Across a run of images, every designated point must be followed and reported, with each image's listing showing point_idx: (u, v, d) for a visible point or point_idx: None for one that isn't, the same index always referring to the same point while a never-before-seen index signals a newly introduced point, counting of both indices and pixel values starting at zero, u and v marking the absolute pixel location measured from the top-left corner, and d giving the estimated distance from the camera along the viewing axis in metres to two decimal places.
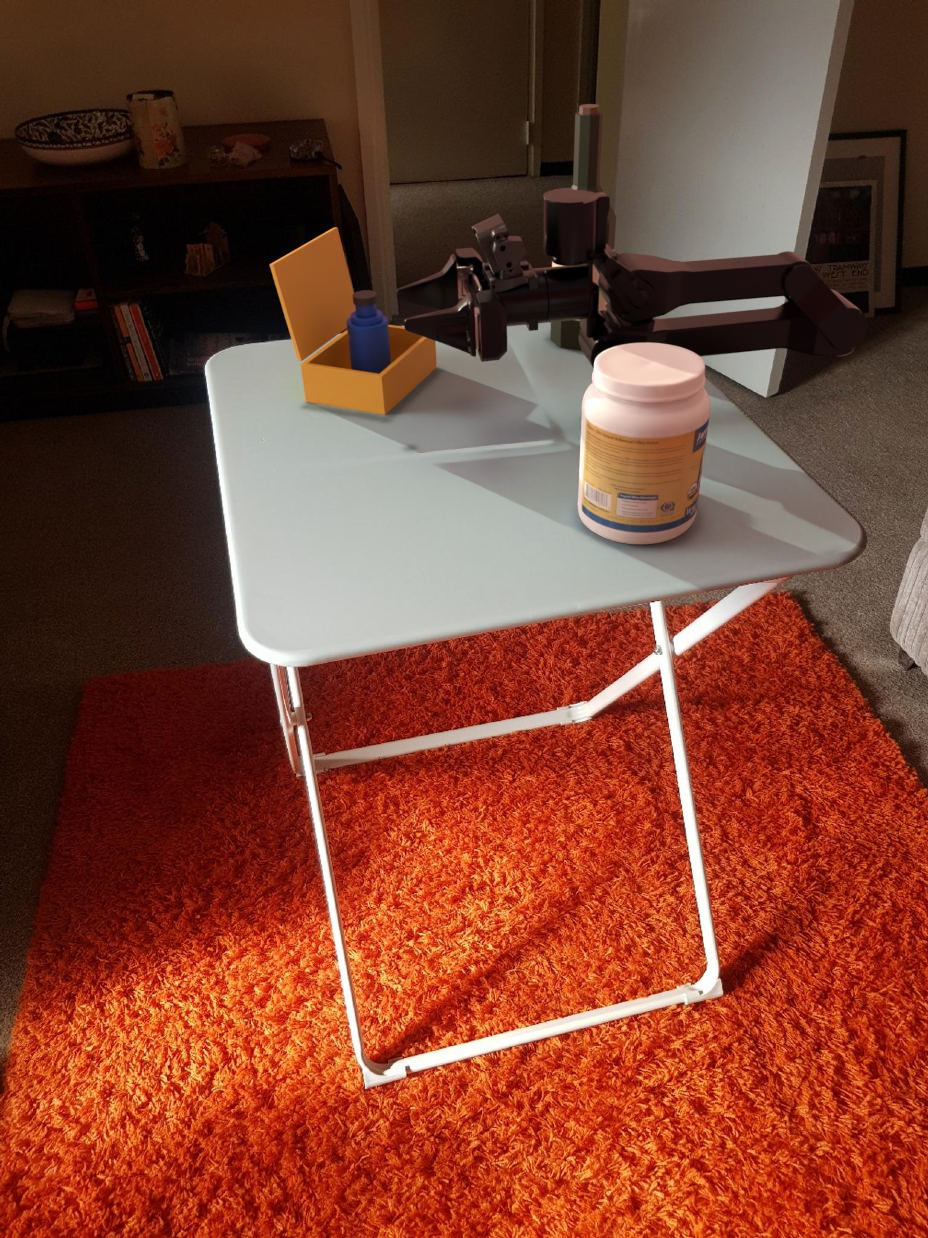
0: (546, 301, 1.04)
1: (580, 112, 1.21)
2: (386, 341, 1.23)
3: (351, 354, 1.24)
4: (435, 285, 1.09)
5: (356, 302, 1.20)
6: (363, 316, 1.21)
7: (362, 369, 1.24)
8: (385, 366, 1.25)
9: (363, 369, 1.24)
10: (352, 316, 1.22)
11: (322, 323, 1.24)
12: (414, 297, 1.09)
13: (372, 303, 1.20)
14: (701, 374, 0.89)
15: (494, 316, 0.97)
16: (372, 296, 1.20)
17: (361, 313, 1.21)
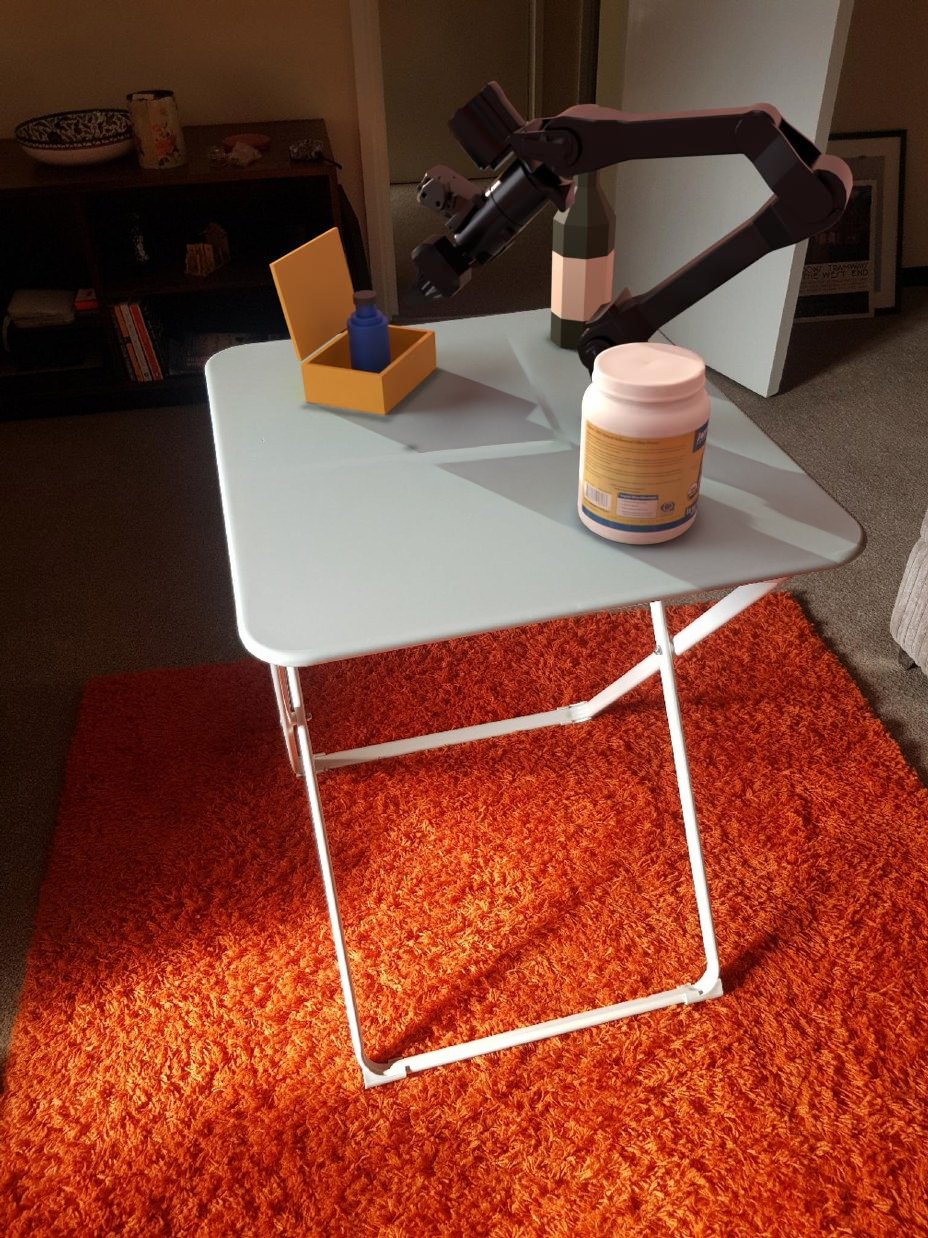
0: (497, 209, 1.05)
1: None
2: (386, 341, 1.23)
3: (351, 354, 1.24)
4: None
5: (356, 302, 1.20)
6: (363, 316, 1.21)
7: (362, 369, 1.24)
8: (385, 366, 1.25)
9: (363, 369, 1.24)
10: (352, 316, 1.22)
11: (322, 323, 1.24)
12: None
13: (372, 303, 1.20)
14: (701, 374, 0.89)
15: (425, 256, 1.04)
16: (372, 296, 1.20)
17: (361, 313, 1.21)
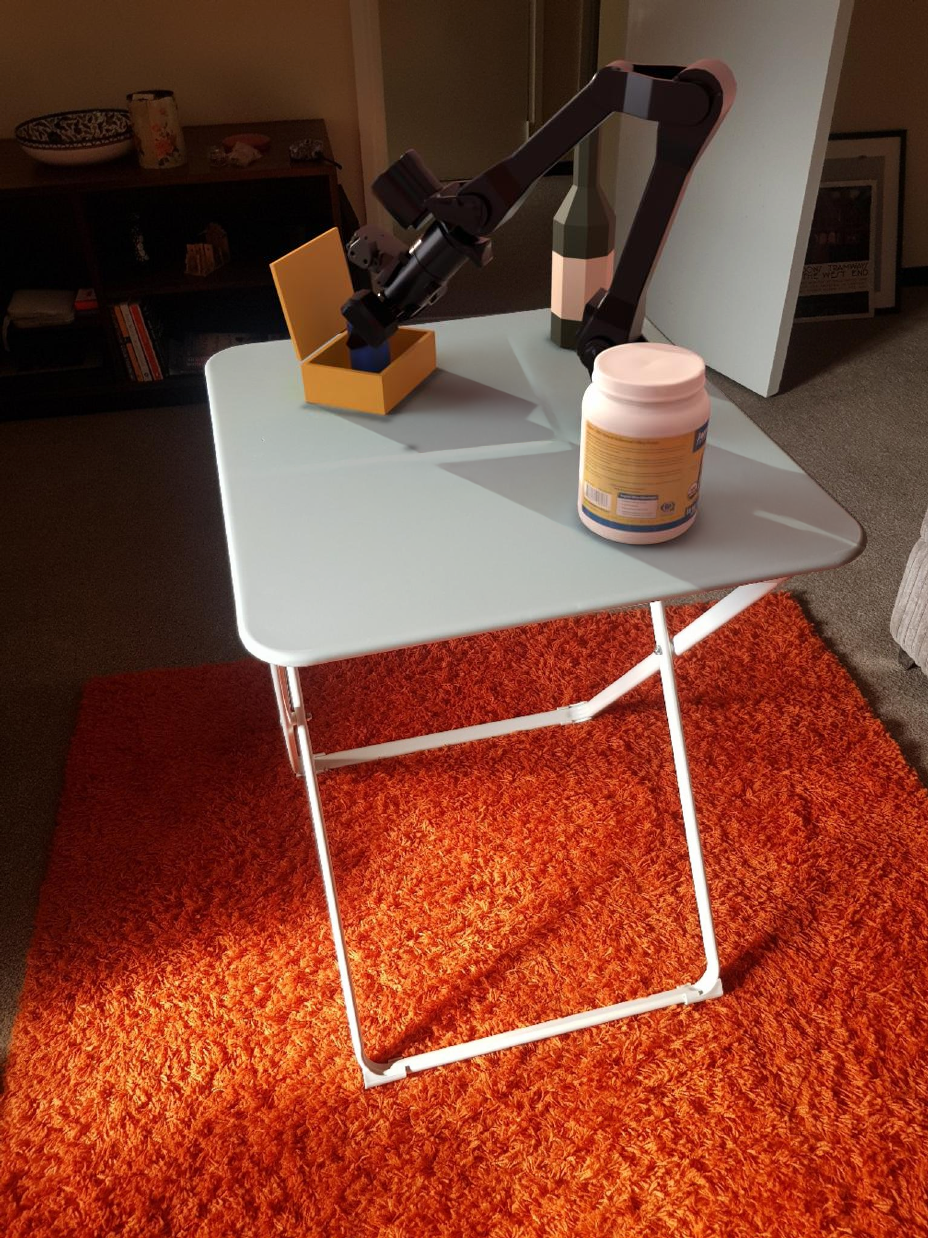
0: (419, 265, 1.12)
1: None
2: (386, 341, 1.23)
3: (351, 354, 1.24)
4: None
5: None
6: None
7: (362, 369, 1.24)
8: (385, 366, 1.25)
9: (363, 369, 1.24)
10: None
11: (322, 323, 1.24)
12: None
13: None
14: (701, 374, 0.89)
15: (352, 311, 1.12)
16: None
17: None
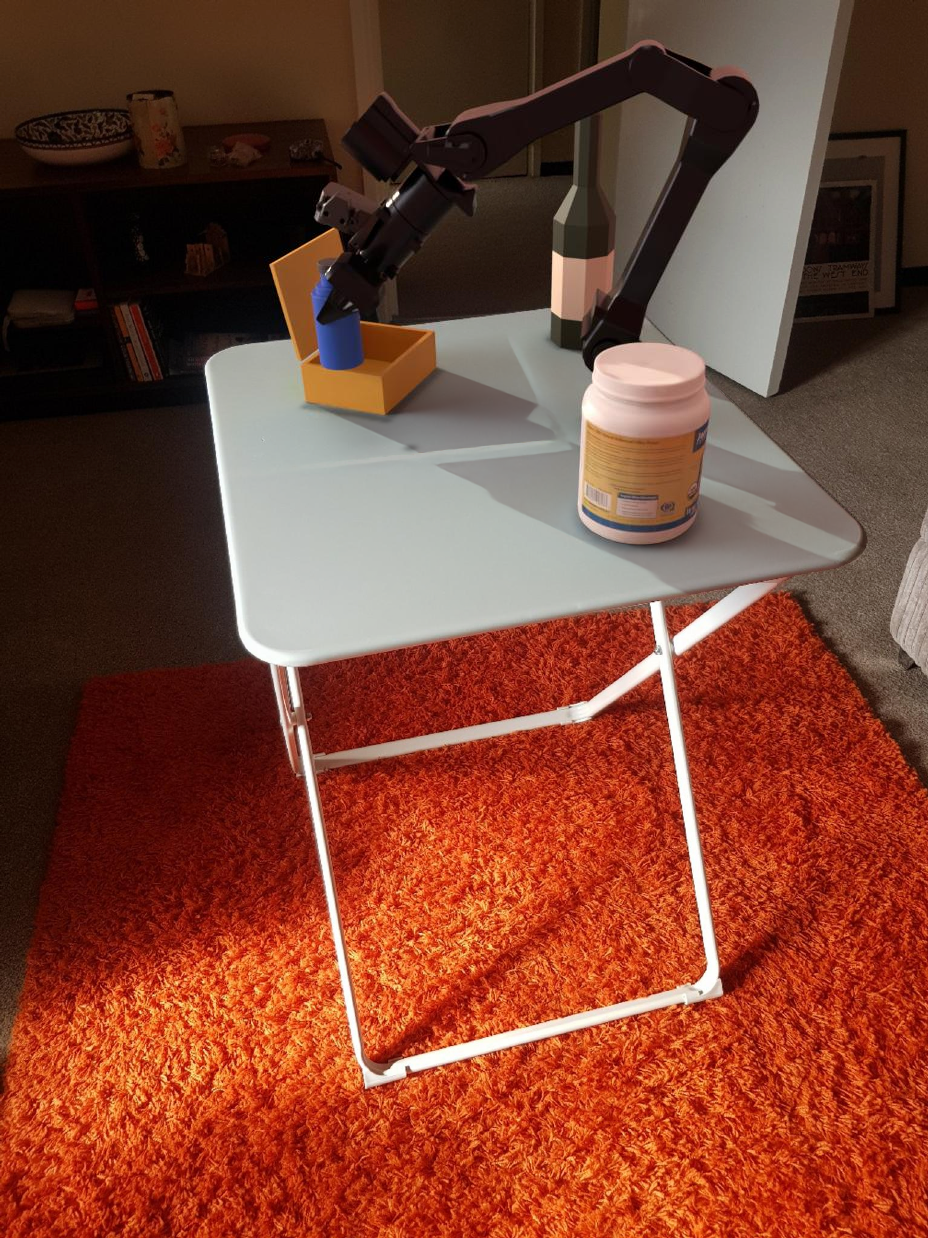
0: (403, 220, 1.03)
1: None
2: None
3: (320, 330, 1.13)
4: None
5: (324, 271, 1.09)
6: (332, 286, 1.10)
7: (335, 345, 1.13)
8: (358, 340, 1.14)
9: (336, 345, 1.13)
10: (319, 287, 1.10)
11: None
12: None
13: None
14: (701, 374, 0.89)
15: (340, 276, 1.01)
16: None
17: None
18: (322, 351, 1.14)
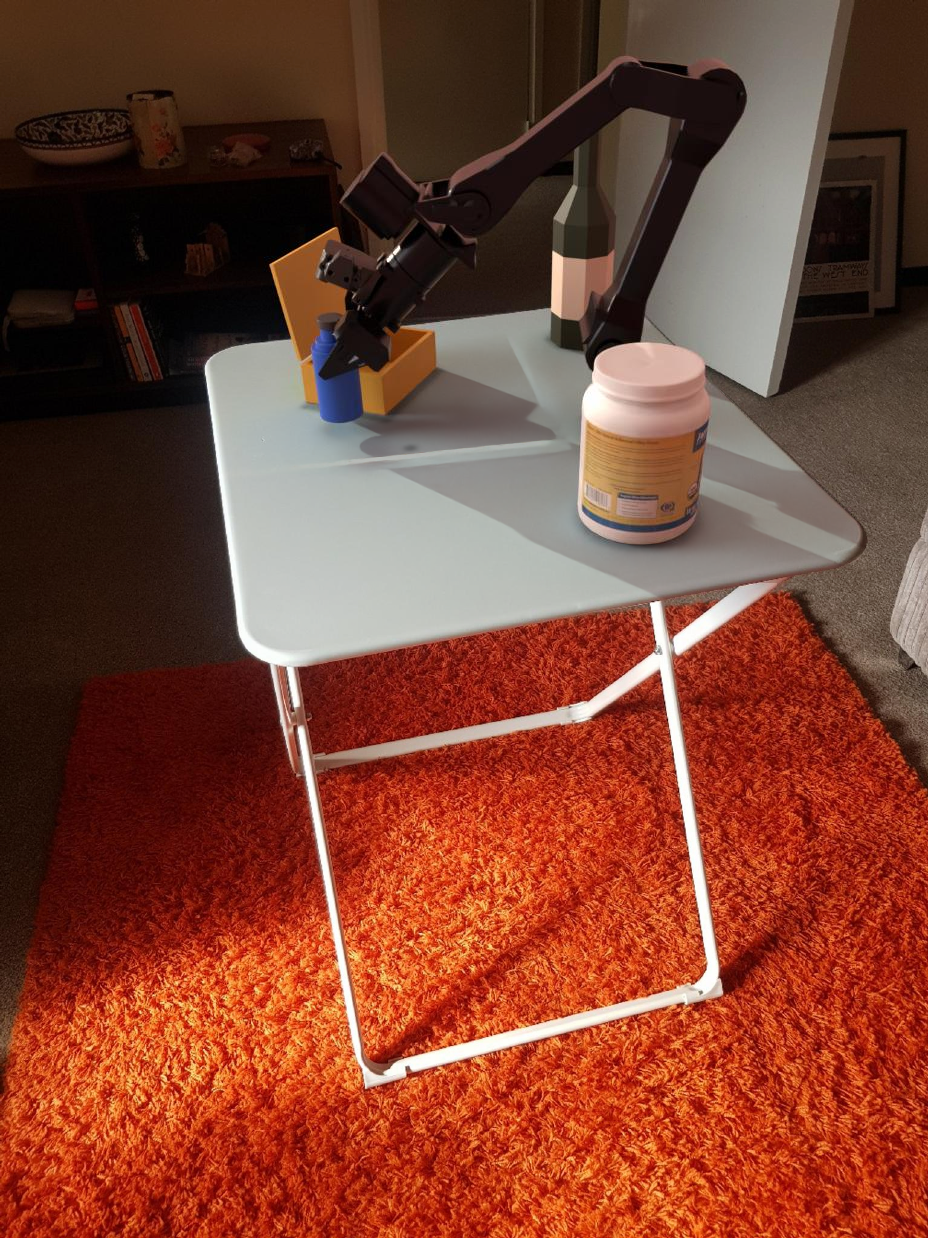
0: (407, 276, 1.04)
1: None
2: None
3: (321, 385, 1.13)
4: None
5: (325, 327, 1.09)
6: (333, 341, 1.10)
7: (337, 399, 1.13)
8: (359, 392, 1.14)
9: (338, 399, 1.13)
10: (319, 343, 1.10)
11: None
12: None
13: None
14: (701, 374, 0.89)
15: (350, 335, 1.01)
16: (340, 318, 1.10)
17: (330, 338, 1.10)
18: (323, 405, 1.14)
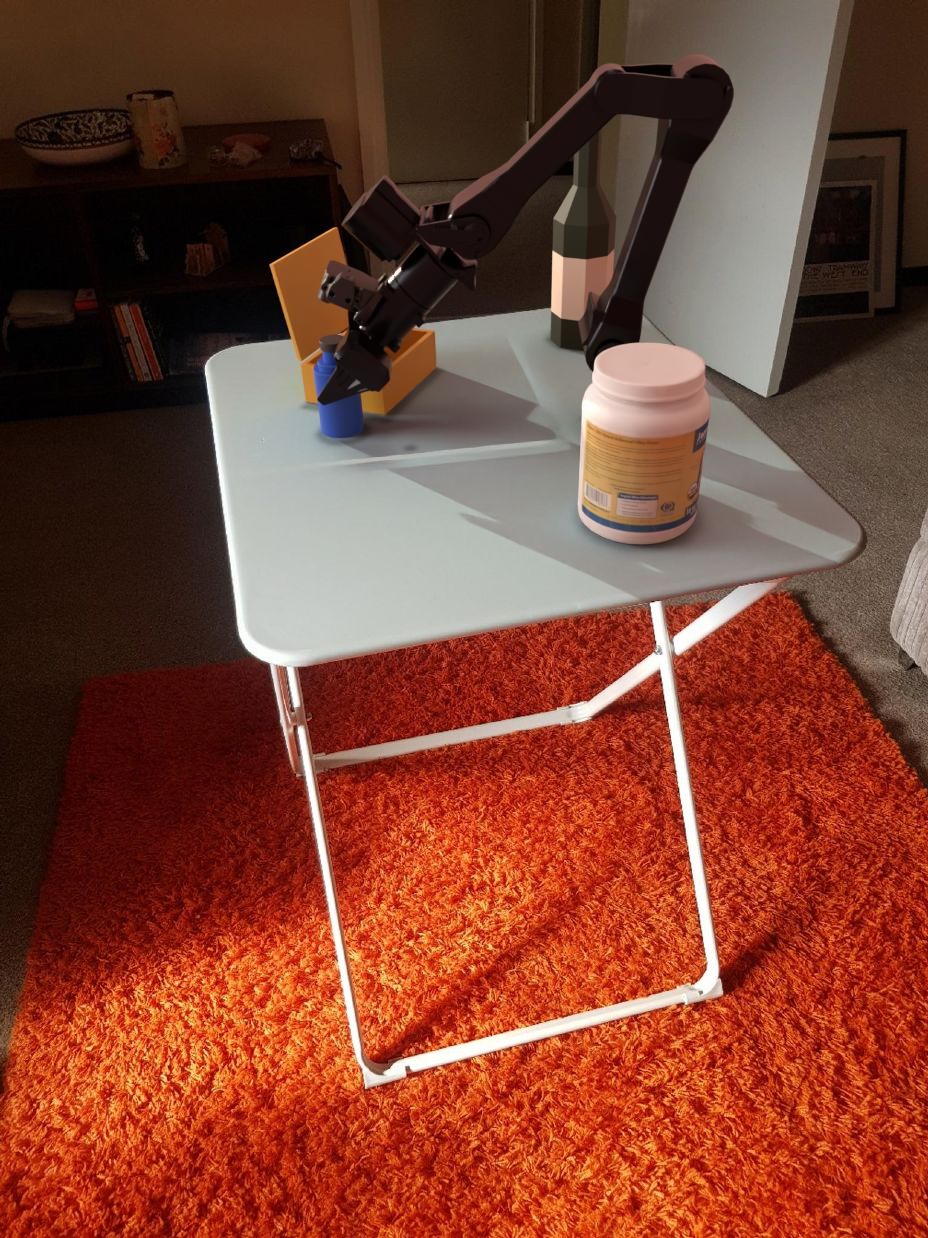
0: (407, 297, 1.05)
1: None
2: None
3: (323, 405, 1.14)
4: None
5: (327, 349, 1.11)
6: (335, 363, 1.12)
7: (339, 419, 1.15)
8: (360, 412, 1.16)
9: (340, 419, 1.15)
10: (322, 364, 1.12)
11: (322, 323, 1.24)
12: None
13: None
14: (701, 374, 0.89)
15: (352, 355, 1.03)
16: None
17: (332, 360, 1.12)
18: (325, 425, 1.16)
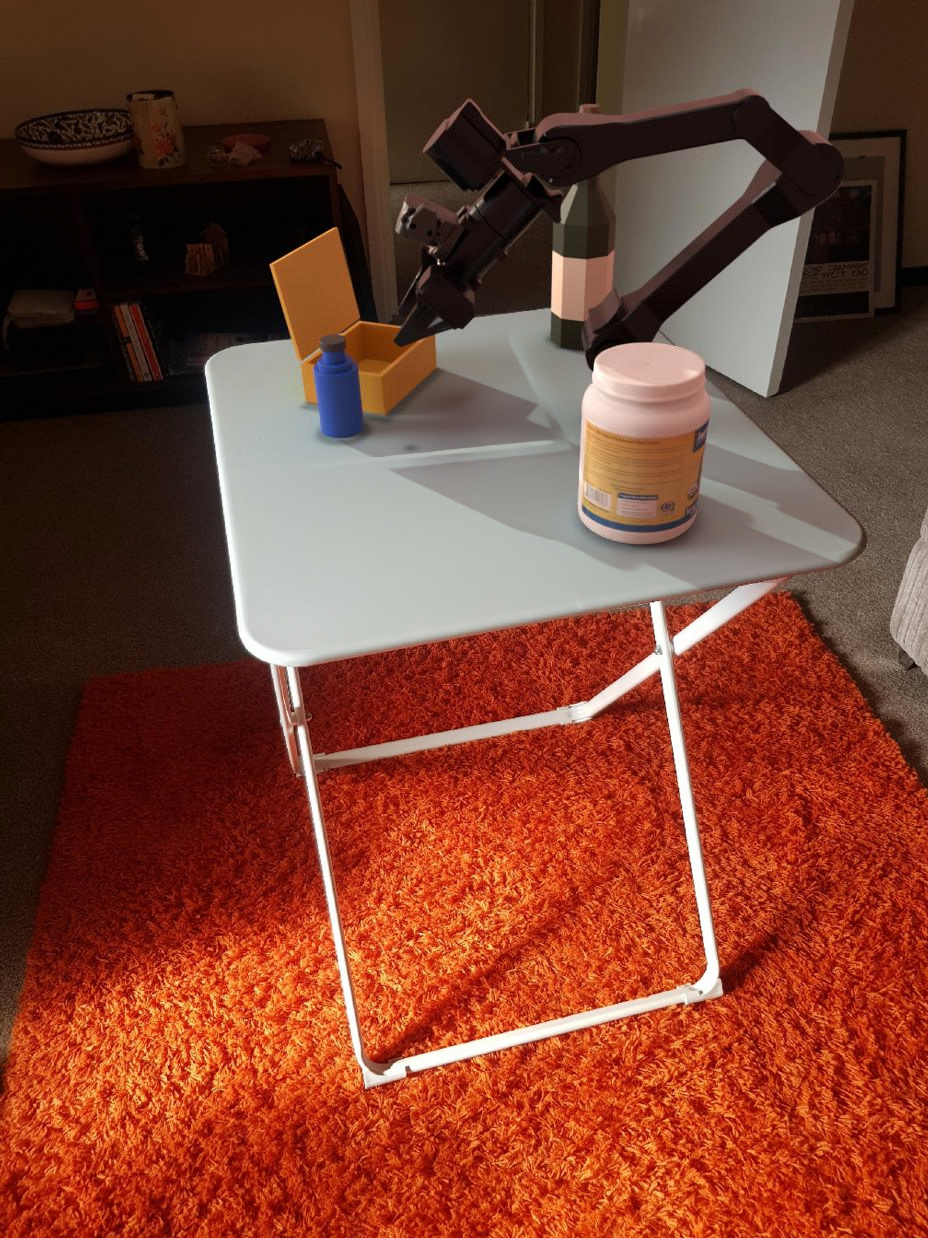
0: (491, 229, 1.01)
1: (580, 112, 1.21)
2: (359, 385, 1.15)
3: (323, 405, 1.14)
4: None
5: (327, 349, 1.11)
6: (335, 363, 1.12)
7: (339, 419, 1.15)
8: (360, 412, 1.16)
9: (340, 419, 1.15)
10: (322, 364, 1.12)
11: (322, 323, 1.24)
12: (415, 303, 1.13)
13: (344, 347, 1.11)
14: (701, 374, 0.89)
15: (436, 290, 0.98)
16: (343, 340, 1.11)
17: (332, 360, 1.12)
18: (325, 425, 1.16)
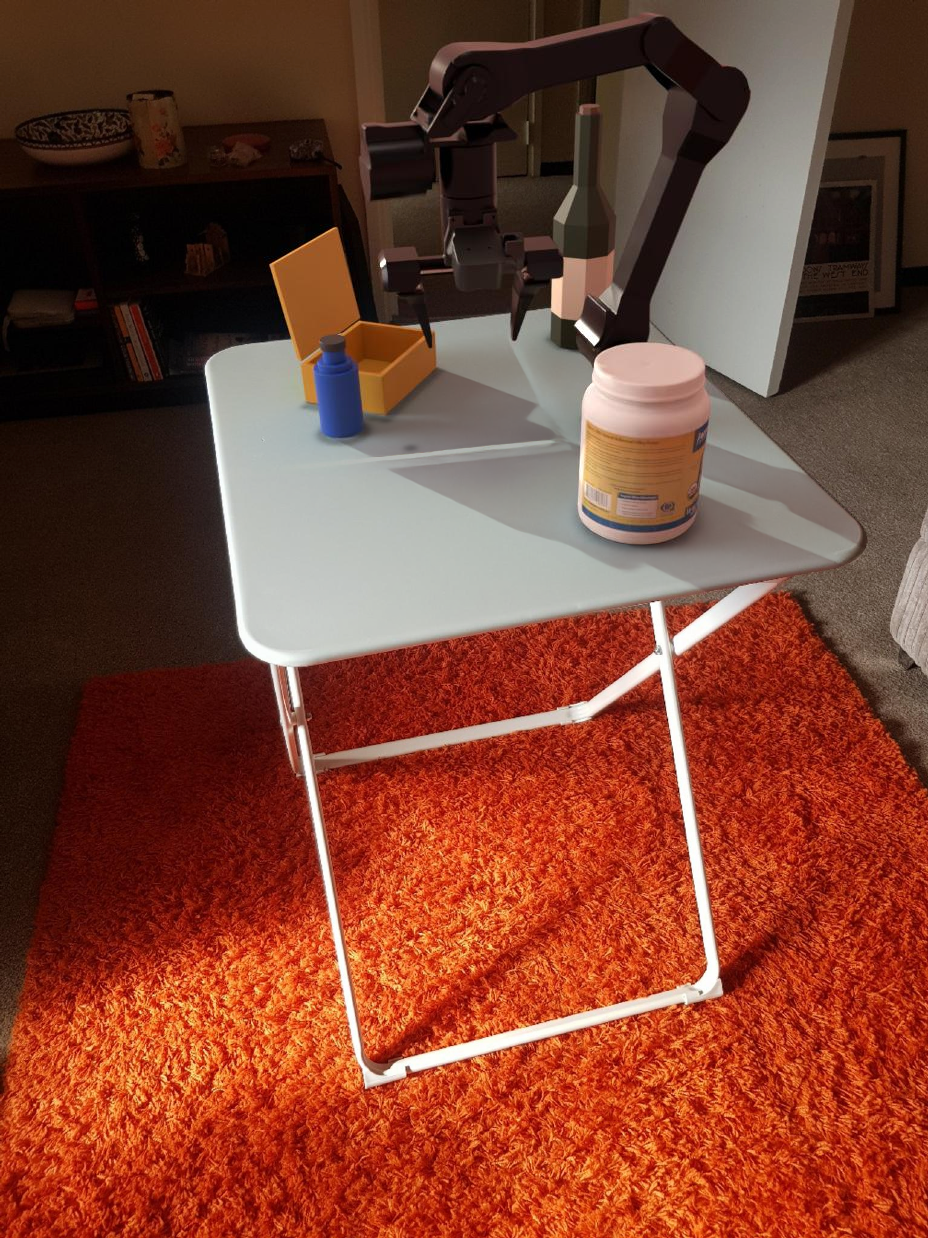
0: (496, 192, 0.97)
1: (580, 112, 1.21)
2: (359, 385, 1.15)
3: (323, 405, 1.14)
4: None
5: (327, 349, 1.11)
6: (335, 363, 1.12)
7: (339, 419, 1.15)
8: (360, 412, 1.16)
9: (340, 419, 1.15)
10: (322, 364, 1.12)
11: (322, 323, 1.24)
12: None
13: (344, 347, 1.11)
14: (701, 374, 0.89)
15: None
16: (343, 340, 1.11)
17: (332, 360, 1.12)
18: (325, 425, 1.16)
